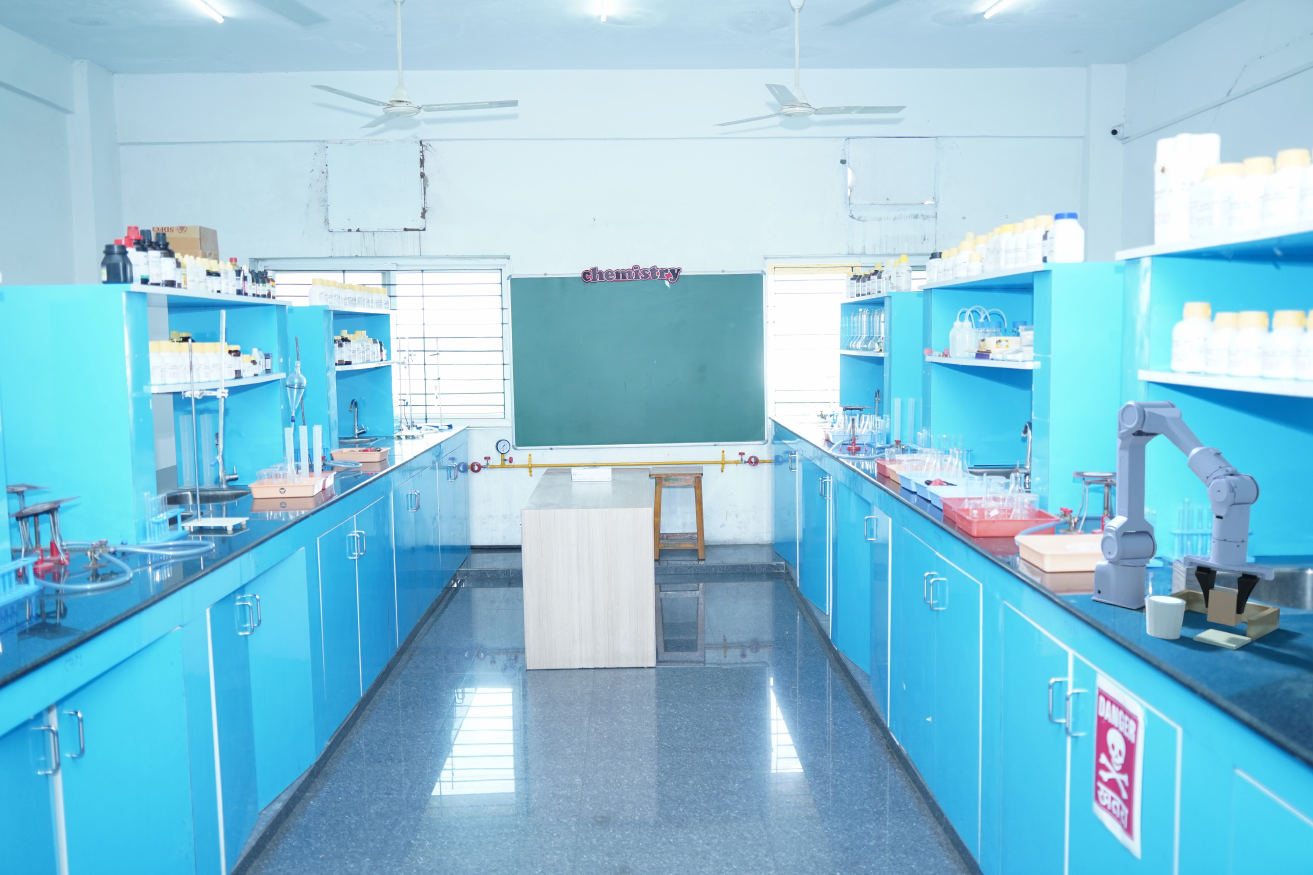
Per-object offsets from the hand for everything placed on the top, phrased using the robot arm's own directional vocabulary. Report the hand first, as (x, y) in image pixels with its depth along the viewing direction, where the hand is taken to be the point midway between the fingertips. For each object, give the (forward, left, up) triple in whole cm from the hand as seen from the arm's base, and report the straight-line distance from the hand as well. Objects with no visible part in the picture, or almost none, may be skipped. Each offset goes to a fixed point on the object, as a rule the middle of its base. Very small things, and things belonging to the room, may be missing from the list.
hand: (1224, 610), depth 172 cm
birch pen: (-5, +11, -6) cm, 14 cm away
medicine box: (-15, +23, -6) cm, 28 cm away
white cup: (-9, -5, -6) cm, 12 cm away
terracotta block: (0, 0, -2) cm, 2 cm away
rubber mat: (0, 0, -6) cm, 6 cm away
